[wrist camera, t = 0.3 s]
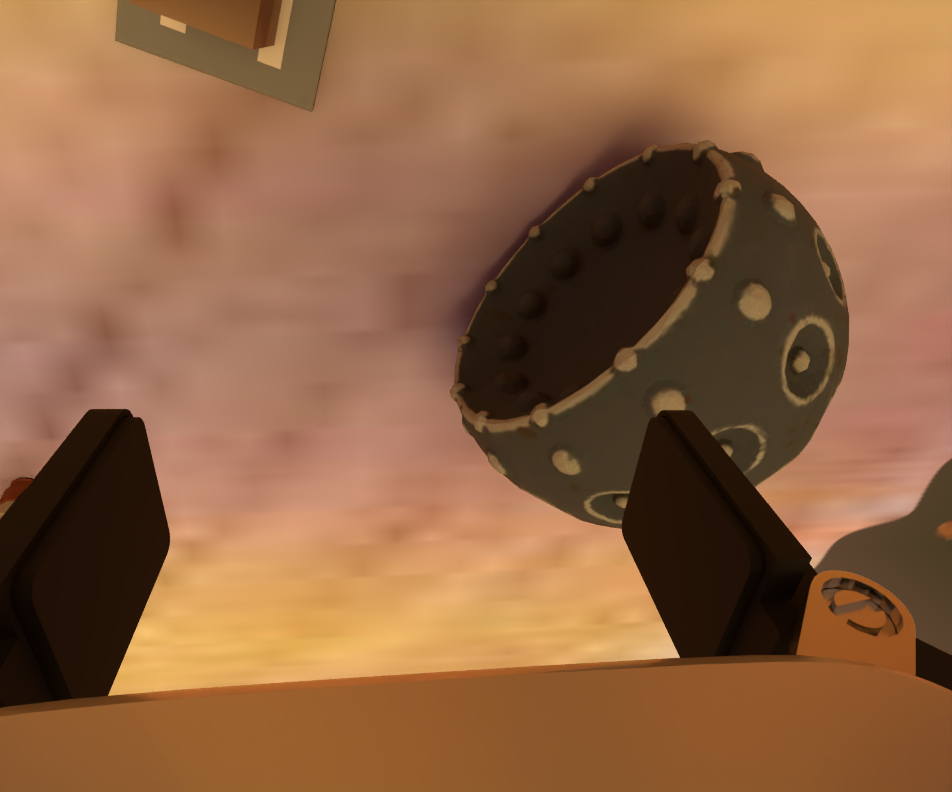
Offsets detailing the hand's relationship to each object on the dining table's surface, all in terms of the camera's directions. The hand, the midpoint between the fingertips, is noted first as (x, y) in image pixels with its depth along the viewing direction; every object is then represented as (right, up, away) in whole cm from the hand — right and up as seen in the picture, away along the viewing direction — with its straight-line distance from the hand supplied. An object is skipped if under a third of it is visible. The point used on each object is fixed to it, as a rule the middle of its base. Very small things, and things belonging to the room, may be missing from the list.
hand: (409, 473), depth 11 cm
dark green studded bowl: (+8, +10, +30) cm, 33 cm away
